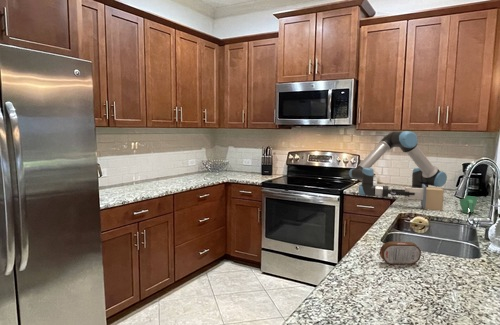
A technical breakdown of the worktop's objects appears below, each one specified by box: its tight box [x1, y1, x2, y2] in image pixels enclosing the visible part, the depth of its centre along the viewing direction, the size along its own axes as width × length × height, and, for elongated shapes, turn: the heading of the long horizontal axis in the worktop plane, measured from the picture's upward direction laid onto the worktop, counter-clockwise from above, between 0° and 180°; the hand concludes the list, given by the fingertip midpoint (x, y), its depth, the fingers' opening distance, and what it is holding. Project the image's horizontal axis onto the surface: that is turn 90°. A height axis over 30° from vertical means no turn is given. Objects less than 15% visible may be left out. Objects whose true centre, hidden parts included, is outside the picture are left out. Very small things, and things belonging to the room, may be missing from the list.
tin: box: [379, 241, 422, 266], centre depth 126 cm, size 15×3×8 cm, turn 90°
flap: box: [404, 184, 426, 210], centre depth 224 cm, size 12×13×14 cm
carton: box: [424, 186, 445, 212], centre depth 221 cm, size 10×10×14 cm
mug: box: [459, 195, 478, 214], centre depth 209 cm, size 15×10×10 cm
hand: (419, 193), depth 221 cm, fingers closed on flap, 3 cm apart
